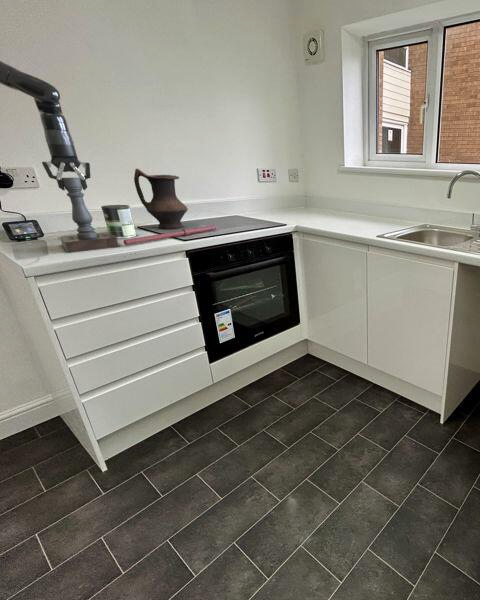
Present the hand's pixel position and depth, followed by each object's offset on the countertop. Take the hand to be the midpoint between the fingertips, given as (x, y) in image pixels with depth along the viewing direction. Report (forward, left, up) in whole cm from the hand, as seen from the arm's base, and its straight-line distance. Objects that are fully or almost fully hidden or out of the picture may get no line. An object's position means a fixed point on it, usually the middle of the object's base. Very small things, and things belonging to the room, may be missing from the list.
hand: (74, 189), depth 138 cm
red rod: (+31, -1, -23) cm, 39 cm away
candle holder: (0, 0, -21) cm, 21 cm away
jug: (+37, +29, -23) cm, 52 cm away
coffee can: (+14, +15, -23) cm, 31 cm away
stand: (0, 0, -23) cm, 23 cm away
